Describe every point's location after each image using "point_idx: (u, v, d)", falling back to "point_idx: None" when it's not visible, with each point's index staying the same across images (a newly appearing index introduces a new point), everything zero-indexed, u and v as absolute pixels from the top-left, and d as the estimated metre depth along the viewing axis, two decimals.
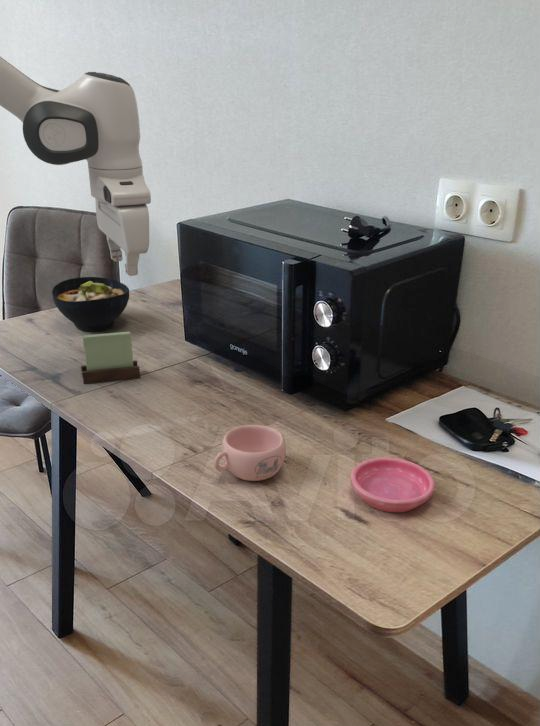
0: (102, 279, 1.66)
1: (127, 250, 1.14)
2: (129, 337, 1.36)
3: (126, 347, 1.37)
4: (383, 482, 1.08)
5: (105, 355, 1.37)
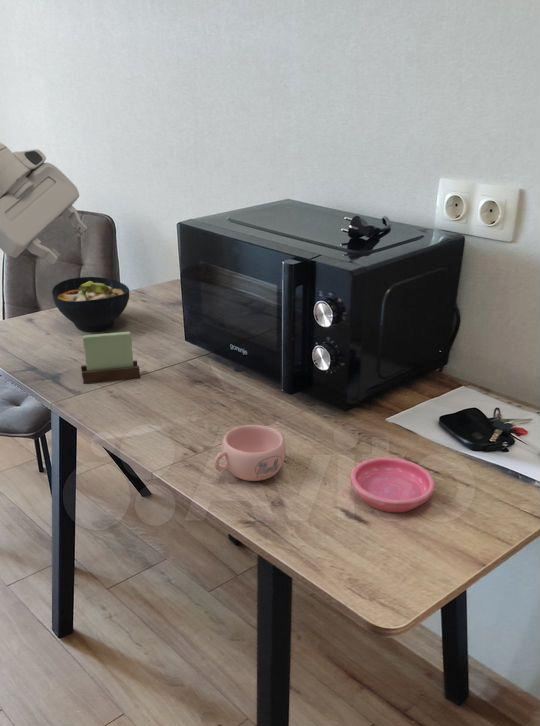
0: (102, 279, 1.66)
1: (77, 190, 1.22)
2: (129, 337, 1.36)
3: (126, 347, 1.37)
4: (383, 482, 1.08)
5: (105, 355, 1.37)
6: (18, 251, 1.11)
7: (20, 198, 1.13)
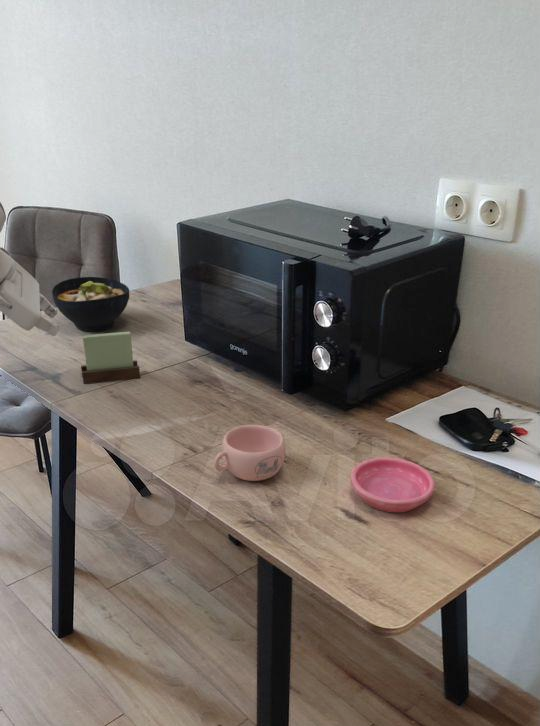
0: (102, 279, 1.66)
1: (36, 281, 1.34)
2: (129, 337, 1.36)
3: (126, 347, 1.37)
4: (383, 482, 1.08)
5: (105, 355, 1.37)
6: (35, 322, 1.20)
7: (14, 282, 1.22)
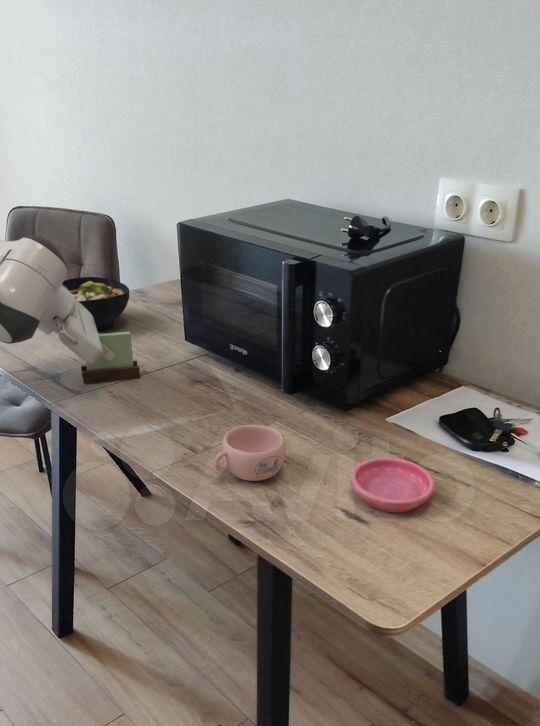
0: (102, 279, 1.66)
1: (90, 314, 1.42)
2: (129, 337, 1.36)
3: (126, 347, 1.37)
4: (383, 482, 1.08)
5: None
6: (98, 356, 1.27)
7: (75, 318, 1.30)
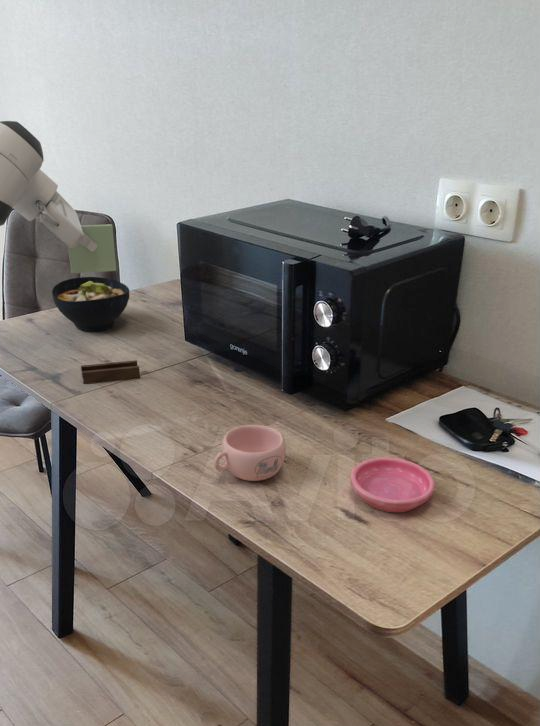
0: (102, 279, 1.66)
1: (74, 210, 1.45)
2: (111, 229, 1.40)
3: (109, 240, 1.41)
4: (383, 482, 1.08)
5: None
6: (79, 240, 1.30)
7: (58, 205, 1.33)
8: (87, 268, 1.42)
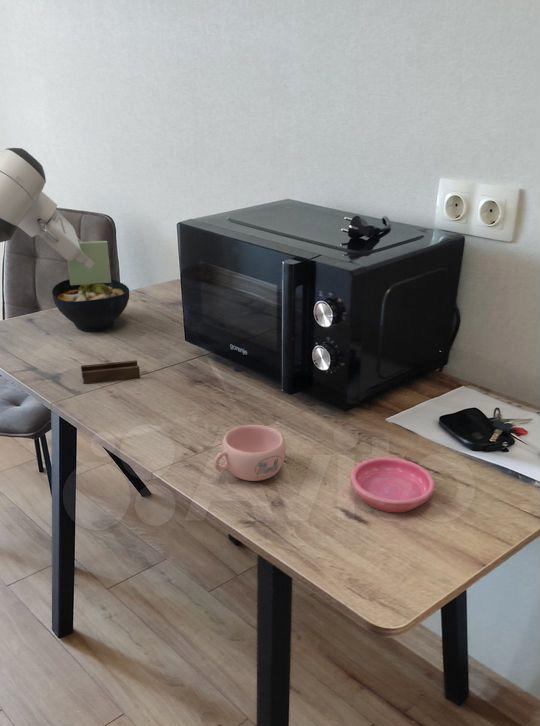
0: None
1: (72, 226, 1.60)
2: (106, 245, 1.54)
3: (104, 255, 1.55)
4: (383, 482, 1.08)
5: None
6: (76, 254, 1.45)
7: (57, 223, 1.48)
8: (84, 280, 1.57)
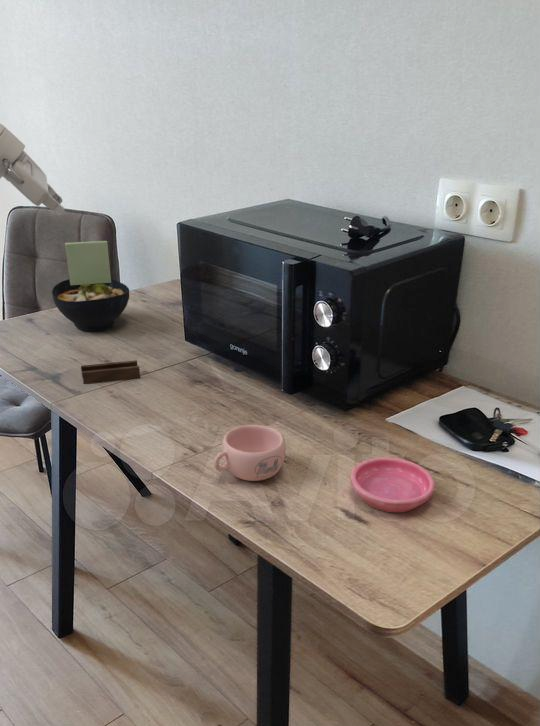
0: None
1: (44, 173, 1.50)
2: (106, 245, 1.54)
3: (104, 255, 1.55)
4: (383, 482, 1.08)
5: (85, 262, 1.55)
6: (44, 198, 1.36)
7: (25, 165, 1.38)
8: (84, 280, 1.57)
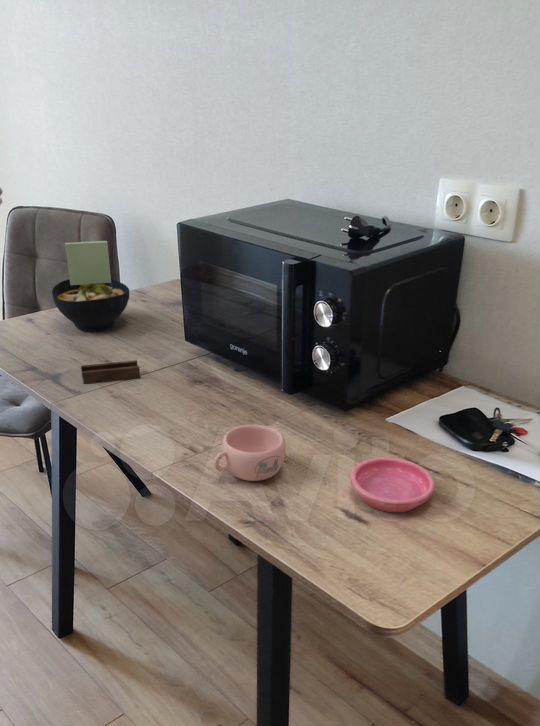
0: None
1: None
2: (106, 245, 1.54)
3: (104, 255, 1.55)
4: (383, 482, 1.08)
5: (85, 262, 1.55)
6: None
7: None
8: (84, 280, 1.57)
